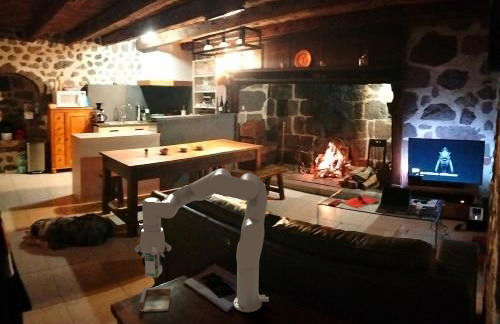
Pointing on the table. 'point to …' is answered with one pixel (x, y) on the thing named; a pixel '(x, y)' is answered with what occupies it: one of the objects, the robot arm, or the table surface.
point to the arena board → (155, 299)
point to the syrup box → (153, 263)
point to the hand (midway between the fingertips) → (153, 264)
